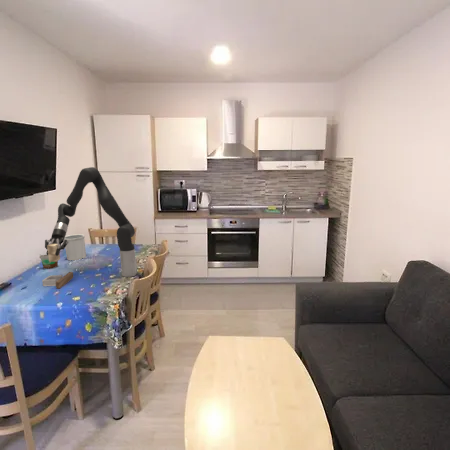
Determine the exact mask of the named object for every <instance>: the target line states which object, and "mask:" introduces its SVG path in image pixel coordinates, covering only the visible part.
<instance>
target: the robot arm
mask: <svg viewBox="0 0 450 450" xmlns="http://www.w3.org/2000/svg"><path fill="white" fill-rule="evenodd" d="M101 174H102V173H100V171H99V169H97V168H96V167H93V166H90V167H86V168H82V169H81V170H80V172H79V173H78V176H77V179H76V182H75V184H74V186H73V189H72V190H71V192H70V194H69V195H68V197H67V198H66V201H65V202H66V203H60V204H59V205H58V208H57V221H56V223H55V225H54V228H53V230H52V232H51V233H52V234H51V238H50V239H45V240H44V248H45V249H46V250H47V251H46V254H45V255H48V249H47V246H48V245H50V244H58V247H57V248H58V249H57V250H56V253H55V255H56V256H58V255H59V253H60V252H61V250H65V247H66V245H67V244H68V241H67V240H64V239H65V236H67V232H68V227H69V224H70V221H71V219H70V218H71V217H74V216H75V215H76V211H77V208H78V207H77V206H78V205H79V203H80V201H81V199H82V198H83V194H84V190H85V188H86V186H88V185H89V184H90V183H92V184H93V186H94V187H95V190H96V192H97V197H98V203H99V204H100V206H101V208H102V209H103V211H104V213H106V214H107V215H108V216H109V217H110V218H111V219H113V220H114V221H115V223H116V224H117V225H118V228H117V230H116V239H117V246H118V248H119V259H120V265H121V267H120V269H121V276H122V277H125V278H129V277H130V278H131V277H136V275H137V274H138V265H137V264H138V262H137V259H136V251H135V250H136V249H135V244H134V243H132V238H133V237H134V236H135V234H136V230H135V227H134V226H133V225H132V223H131V222H130V220H129V219H128V218H127V217H126V215H125V213H124V212H123V211H122V208H120V206H119V204H118V202H117V201H116V199H115V197H114V196H113V195H112V193H111V192H110V189H109V187H107V185H106V182H105V181H104V178H103V177H102V175H101Z"/></svg>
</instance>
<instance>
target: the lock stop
mask: <svg viewBox="0 0 450 450" xmlns="http://www.w3.org/2000/svg"><path fill="white" fill-rule="evenodd" d="M49 244H50V243H49ZM57 247H58V244H50V245H48V246H47V249H48V257H49V262H57V261H58V262H59V261H60V260H61V255H60V253H59V255H58V256H56V255H55V253H56V250H57V249H58V248H57ZM47 249H46V250H47Z"/></svg>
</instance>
